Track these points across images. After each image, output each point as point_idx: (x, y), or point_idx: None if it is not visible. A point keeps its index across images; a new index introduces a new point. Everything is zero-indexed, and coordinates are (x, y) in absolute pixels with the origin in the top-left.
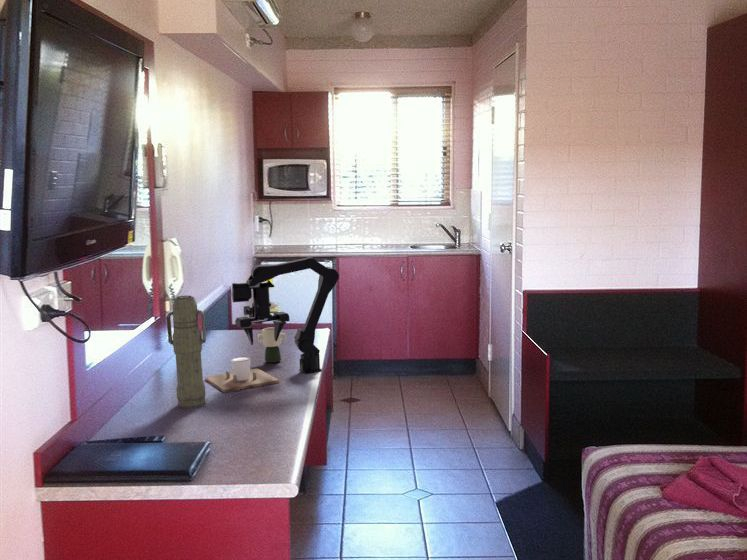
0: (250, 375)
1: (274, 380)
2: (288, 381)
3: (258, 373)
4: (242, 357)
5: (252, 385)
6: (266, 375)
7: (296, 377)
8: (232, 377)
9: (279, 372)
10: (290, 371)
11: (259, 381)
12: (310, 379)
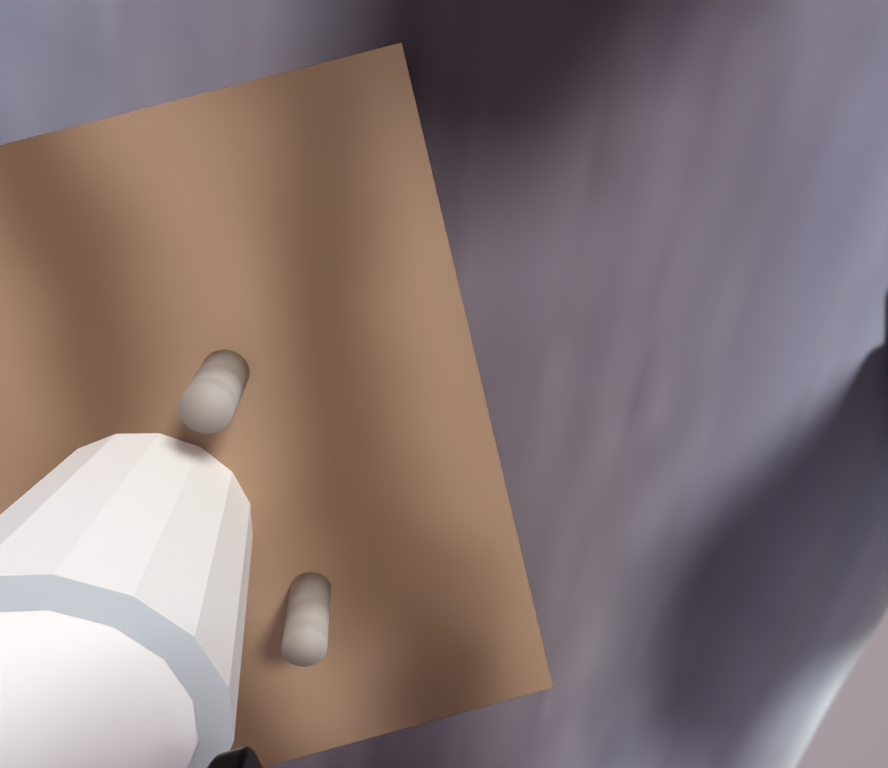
0: (266, 424)
1: (507, 693)
2: (639, 647)
3: (379, 363)
4: (70, 610)
5: (271, 758)
6: (463, 491)
7: (755, 543)
8: (14, 437)
9: (660, 268)
10: (793, 275)
11: (352, 687)
12: (838, 643)
